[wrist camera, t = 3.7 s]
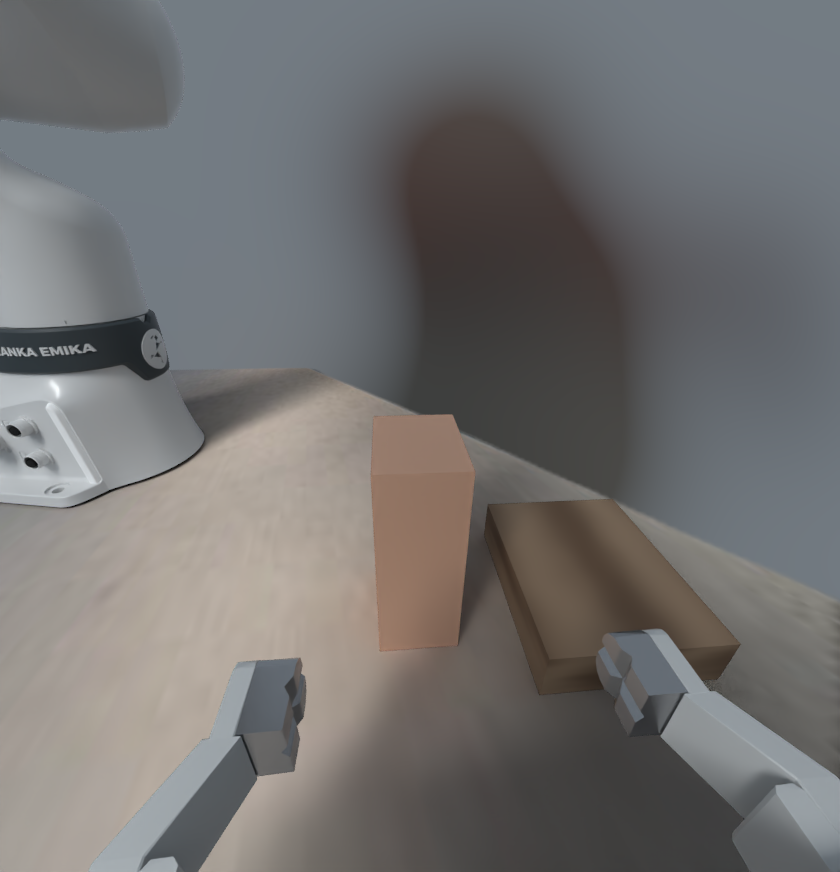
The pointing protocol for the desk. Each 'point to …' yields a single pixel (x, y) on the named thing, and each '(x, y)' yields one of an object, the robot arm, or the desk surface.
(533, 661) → the plinth
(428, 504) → the terracotta block
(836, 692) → the desk surface
